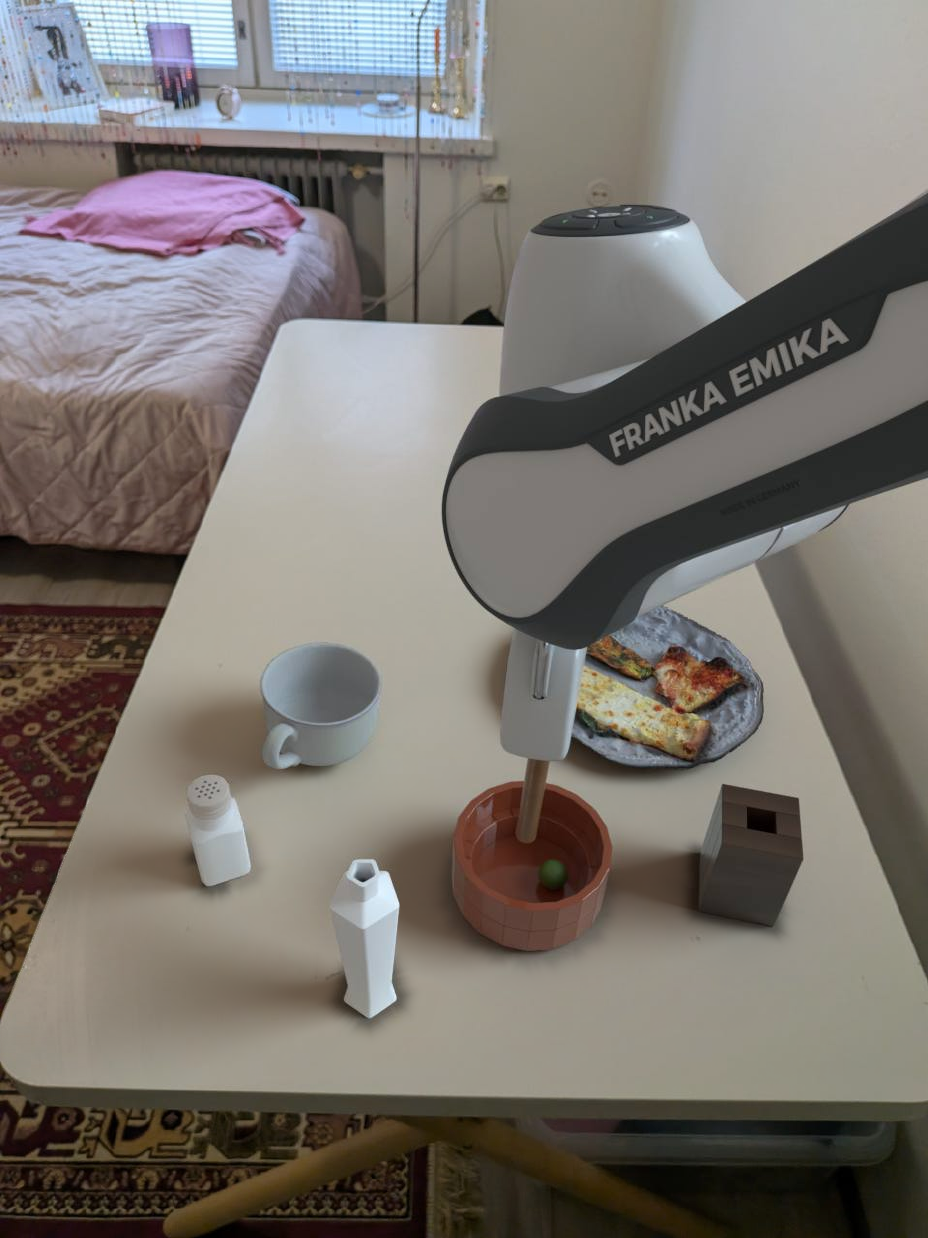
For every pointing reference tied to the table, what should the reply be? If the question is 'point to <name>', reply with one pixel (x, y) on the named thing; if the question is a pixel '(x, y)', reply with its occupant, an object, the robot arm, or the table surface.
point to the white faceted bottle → (366, 935)
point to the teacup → (318, 705)
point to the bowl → (529, 868)
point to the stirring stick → (531, 800)
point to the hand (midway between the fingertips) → (550, 701)
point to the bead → (553, 874)
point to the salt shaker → (216, 830)
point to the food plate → (666, 694)
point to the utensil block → (750, 854)
